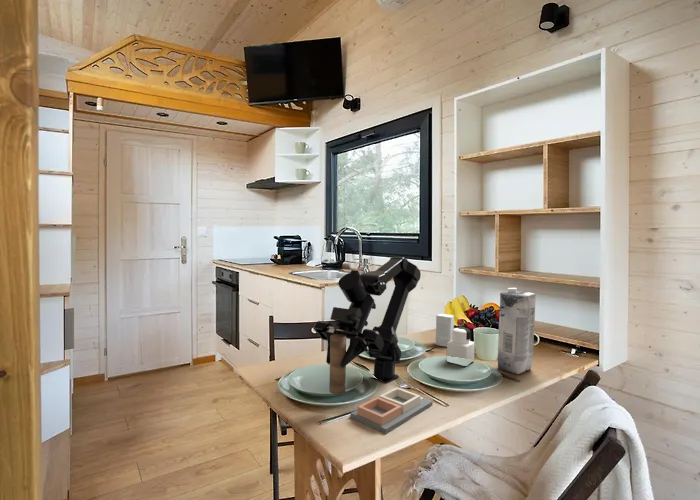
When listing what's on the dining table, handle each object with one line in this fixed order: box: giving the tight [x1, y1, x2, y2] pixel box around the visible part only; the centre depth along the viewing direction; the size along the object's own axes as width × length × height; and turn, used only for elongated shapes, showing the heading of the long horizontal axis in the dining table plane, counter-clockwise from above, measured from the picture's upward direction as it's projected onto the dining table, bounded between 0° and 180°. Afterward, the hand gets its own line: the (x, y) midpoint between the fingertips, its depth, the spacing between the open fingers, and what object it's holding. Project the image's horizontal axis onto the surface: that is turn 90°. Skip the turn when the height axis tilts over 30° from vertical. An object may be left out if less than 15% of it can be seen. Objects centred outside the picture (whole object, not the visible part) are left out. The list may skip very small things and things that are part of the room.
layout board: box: [350, 386, 434, 434], centre depth 101 cm, size 20×11×3 cm, turn 137°
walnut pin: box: [328, 334, 347, 395], centre depth 100 cm, size 4×4×14 cm
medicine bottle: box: [446, 326, 475, 361], centre depth 138 cm, size 7×7×12 cm
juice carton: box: [497, 287, 537, 375], centre depth 132 cm, size 9×10×27 cm
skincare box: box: [435, 313, 455, 348], centre depth 158 cm, size 6×4×12 cm
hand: (334, 364), depth 98 cm, fingers closed on walnut pin, 4 cm apart
